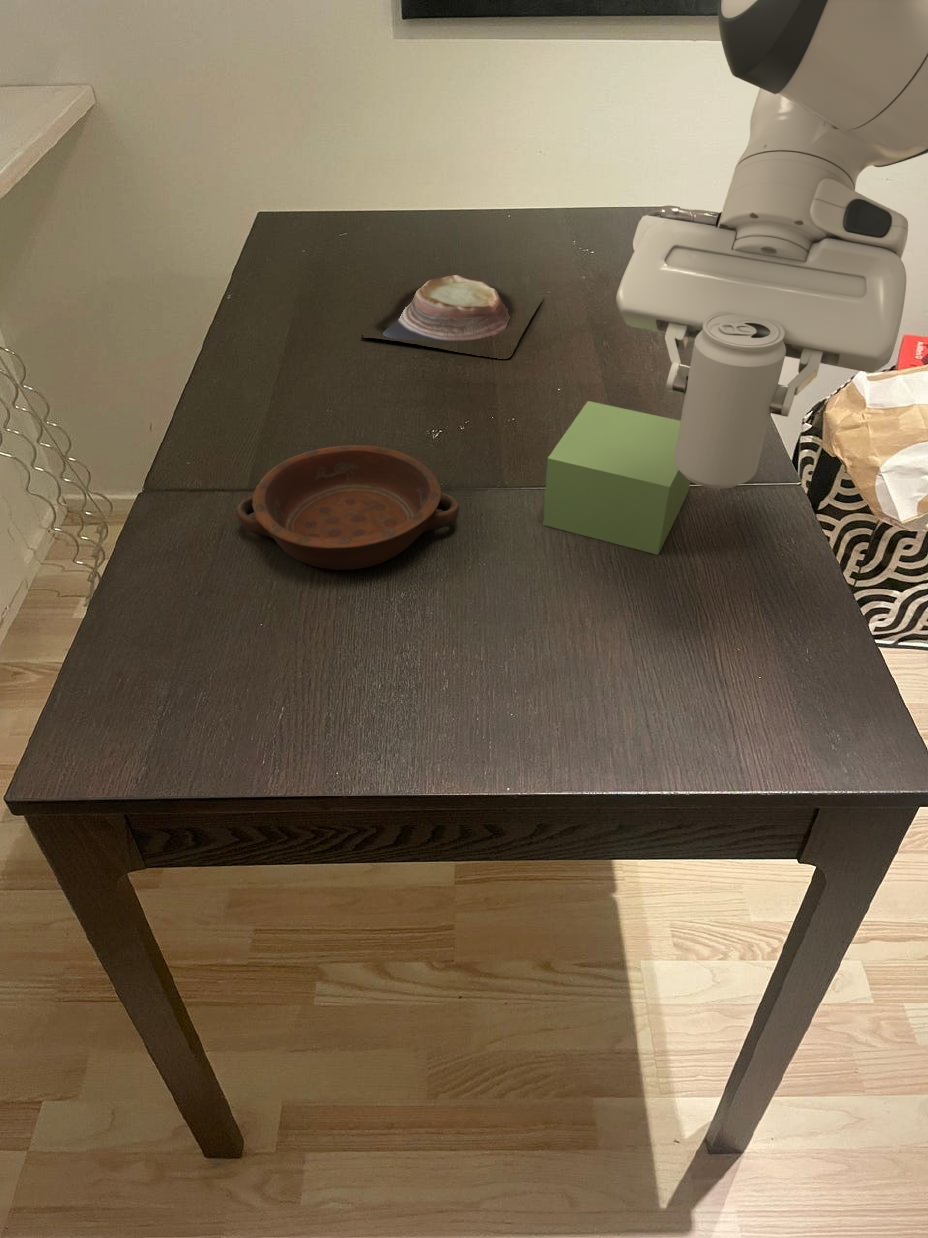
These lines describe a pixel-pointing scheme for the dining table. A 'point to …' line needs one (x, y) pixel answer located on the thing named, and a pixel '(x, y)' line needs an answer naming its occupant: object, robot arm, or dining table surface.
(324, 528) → the dish
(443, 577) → the dining table surface
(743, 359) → the beverage can
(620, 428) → the green block
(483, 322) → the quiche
